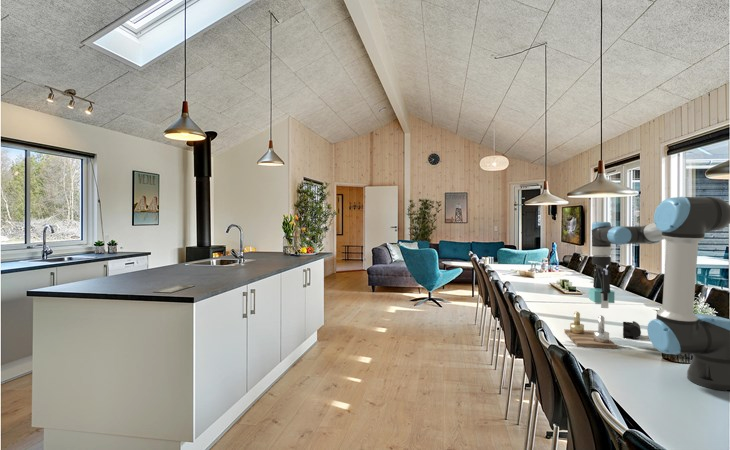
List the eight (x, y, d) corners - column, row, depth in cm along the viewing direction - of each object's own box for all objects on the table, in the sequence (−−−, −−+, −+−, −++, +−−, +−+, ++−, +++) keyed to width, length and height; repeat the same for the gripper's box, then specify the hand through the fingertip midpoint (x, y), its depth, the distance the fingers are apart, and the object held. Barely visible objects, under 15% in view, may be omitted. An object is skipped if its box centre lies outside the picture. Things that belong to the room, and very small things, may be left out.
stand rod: (611, 343, 186) (610, 317, 186) (596, 342, 188) (596, 316, 187) (606, 339, 192) (606, 314, 192) (592, 338, 193) (592, 313, 193)
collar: (614, 303, 185) (614, 291, 185) (594, 302, 186) (594, 291, 186) (608, 299, 192) (608, 288, 192) (589, 299, 194) (589, 288, 194)
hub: (585, 334, 201) (585, 313, 200) (571, 334, 202) (571, 312, 202) (581, 331, 206) (581, 310, 206) (568, 330, 208) (568, 310, 208)
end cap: (641, 340, 195) (641, 326, 195) (623, 338, 199) (623, 324, 199) (640, 335, 204) (640, 321, 204) (623, 333, 208) (623, 320, 207)
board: (616, 348, 184) (616, 345, 184) (577, 346, 187) (577, 343, 187) (599, 333, 207) (599, 330, 207) (564, 332, 211) (564, 329, 211)
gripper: (619, 258, 178) (619, 311, 178) (602, 254, 199) (603, 301, 199) (599, 257, 180) (599, 310, 180) (585, 253, 200) (585, 301, 200)
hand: (601, 305), depth 189 cm, fingers closed on collar, 8 cm apart
